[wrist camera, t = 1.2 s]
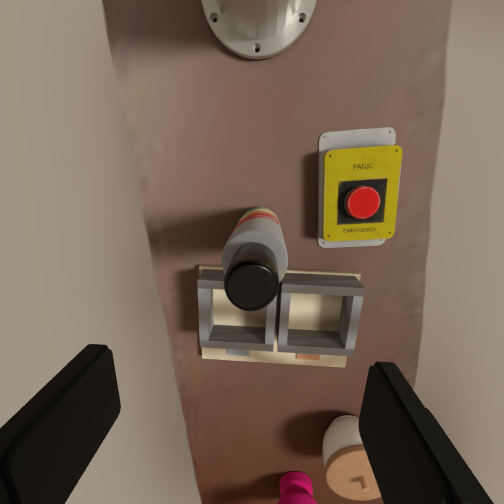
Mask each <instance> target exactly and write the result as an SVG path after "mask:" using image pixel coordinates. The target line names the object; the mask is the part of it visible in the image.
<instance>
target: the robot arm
mask: <svg viewBox="0 0 504 504" xmlns="http://www.w3.org/2000/svg"><path fill="white" fill-rule="evenodd" d="M201 2H202V6H203V9H204V13H205V16H206V18H207V21H208V24H209V25H210V27H211V29H212V31H213V33H214V35H215V36H216V37H217V38H218V40H219V41H220V42H221V43H222V44H223V45H224V46H225V47H226V48H227V49H228V50H230V51H231V52H233V53H235V54H237V55H238V56H241V57H244V58H248V59H257V60H261V59H267V58H271V57H274V56H276V55H279V54H281V53H282V52H284V51H285V50H287V49H289V48H290V47H291V46H292V45H293V44H294V43H295V42H296V41H297V40H298V39H299V38H300V36H301V35H302V34H303V32H304V31H305V29H306V27H307V25H308V23H309V21H310V19H311V17H312V14H313V11H314V8H315V4H316V0H201ZM214 20H217V22H214ZM300 20H302V21H303V23H301V22H299V21H300ZM256 49H259V52H257V53H256V52H255V50H256ZM120 408H121V405H120V398H119V391H118V385H117V379H116V372H115V366H114V360H113V354H112V351H111V350H110V349H109V348H108V346H107V345H99V344H89V345H87V346H86V347H85V348H84V349H83V350H82V351H81V352H80V353H79V354H77V355H76V356H75V357H74V358H73V359H72V360H71V361H70V362H69V363H68V364H67V365H66V366H65V367H64V368H63V369H62V370H61V371H60V372H59V373H58V374H57V375H56V376H55V377H53V378H52V380H50V381H49V382H48V383H47V384H46V385H45V386H44V387H43V388H42V389H41V390H40V391H39V392H38V393H37V394H36V395H35V396H34V397H33V398H32V399H30V401H28V402H27V403H26V404H25V406H23V407H22V408H21V409H20V410H19V411H18V412H17V413H16V414H15V415H14V416H13V417H12V418H11V419H10V420H9V421H8V422H6V424H4V425H3V426H2V427H1V428H0V504H65V502H66V501H67V499H68V497H69V496H70V494H71V492H72V491H73V489H74V488H75V486H76V484H77V483H78V481H79V479H80V478H81V476H82V475H83V473H84V471H85V470H86V468H87V466H88V465H89V463H90V461H91V460H92V458H93V457H94V455H95V453H96V452H97V450H98V448H99V447H100V445H101V443H102V442H103V440H104V439H105V437H106V435H107V434H108V432H109V430H110V429H111V427H112V426H113V424H114V422H115V420H116V419H117V417H118V415H119V413H120ZM358 429H359V434H360V437H361V440H362V443H363V446H364V448H365V451H366V454H367V457H368V460H369V463H370V465H371V468H372V471H373V474H374V477H375V479H376V482H377V485H378V488H379V491H380V494H381V496H382V499H383V502H384V504H494V503H493V502H492V500H491V499H490V498H489V496H488V495H487V493H486V492H485V490H484V489H483V487H482V486H481V484H480V483H479V482H478V480H477V479H476V477H475V476H474V474H473V473H472V471H471V470H470V468H469V467H468V466H467V464H466V463H465V461H464V460H463V458H462V457H461V455H460V454H459V452H458V451H457V449H456V448H455V447H454V445H453V444H452V442H451V441H450V439H449V438H448V436H447V435H446V434H445V432H444V430H443V429H442V428H441V426H440V425H439V423H438V422H437V420H436V419H435V417H434V416H433V415H432V413H431V412H430V411H429V410H428V409H427V408H425V407H424V405H423V404H422V402H421V401H420V400H419V398H418V397H417V395H416V394H415V392H414V391H413V389H412V388H411V386H410V385H409V383H408V382H407V380H406V379H405V377H404V376H403V374H402V373H401V371H400V370H399V368H398V367H397V366H396V364H395V363H391V362H376V363H375V364H374V366H370V368H369V372H368V377H367V382H366V387H365V392H364V397H363V402H362V407H361V412H360V417H359V422H358Z"/></svg>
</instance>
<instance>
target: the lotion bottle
mask: <svg viewBox="0 0 504 504" xmlns="http://www.w3.org/2000/svg"><path fill="white" fill-rule="evenodd" d="M287 266H288V256H287V251H286V246H285V242H284V238H283V234H282V230H281V226H280V223H279V220H278V218H277V216H276V215H275V214H274V213H273V212H272V211H271V210H269V209H267V208H264V207H255V208H252V209H250V210H248V211H247V212H245V213H244V214H243V216H242V217H241V219H240V220H239V222H238V224H237V226H236V227H235V229H234V231H233V233H232V234H231V236H230V238H229V239H228V241H227V243H226V245H225V247H224V250H223V253H222V268H223V271H224V274H225V277H224V290H225V293H226V296H227V298H228V299H229V301H230V302H231V303H232V304H233V305H234V306H235V307H237V308H239V309H241V310H244V311H257V310H260V309H263V308H265V307H266V306H268V305H269V304H270V303H271V302H272V301H273V300H274V298H275V297H276V295H277V293H278V290H279V282H280V281H281V280H282V279H283V277H284V275H285V273H286V270H287Z"/></svg>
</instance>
